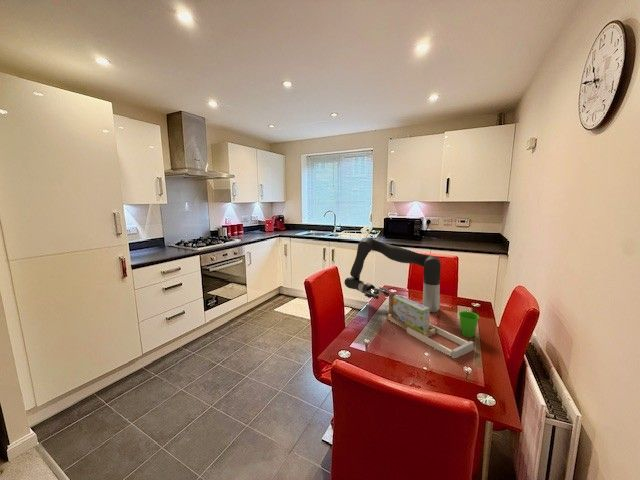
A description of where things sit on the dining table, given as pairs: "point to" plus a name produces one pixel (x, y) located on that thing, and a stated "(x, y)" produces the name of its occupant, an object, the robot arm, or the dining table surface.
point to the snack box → (411, 313)
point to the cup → (468, 323)
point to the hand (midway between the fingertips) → (383, 296)
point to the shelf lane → (454, 353)
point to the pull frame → (403, 325)
